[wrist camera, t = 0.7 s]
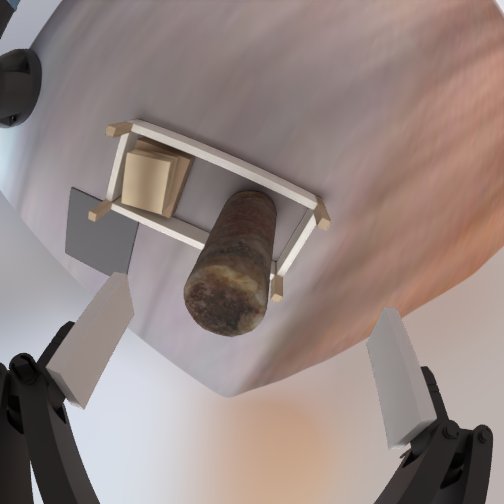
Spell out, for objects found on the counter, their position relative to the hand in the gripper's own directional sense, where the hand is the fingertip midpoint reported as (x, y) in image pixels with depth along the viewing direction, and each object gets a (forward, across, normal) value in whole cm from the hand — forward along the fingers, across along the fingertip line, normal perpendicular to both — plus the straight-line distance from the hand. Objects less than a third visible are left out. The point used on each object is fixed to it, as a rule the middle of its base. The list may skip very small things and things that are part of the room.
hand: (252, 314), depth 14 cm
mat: (+27, -28, -13) cm, 41 cm away
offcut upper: (+24, -15, -1) cm, 29 cm away
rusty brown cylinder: (+27, -2, -6) cm, 28 cm away
